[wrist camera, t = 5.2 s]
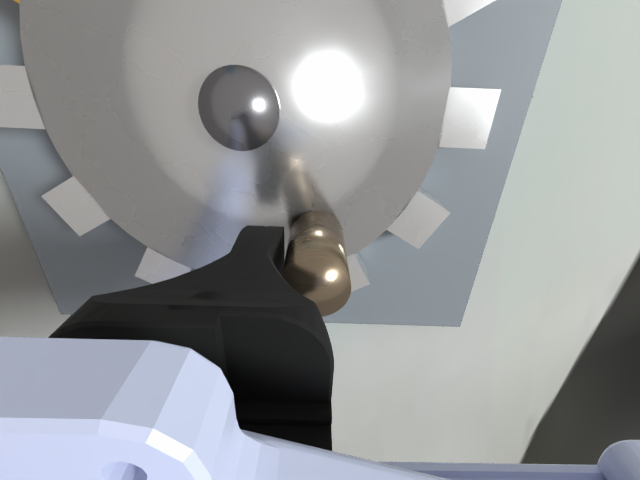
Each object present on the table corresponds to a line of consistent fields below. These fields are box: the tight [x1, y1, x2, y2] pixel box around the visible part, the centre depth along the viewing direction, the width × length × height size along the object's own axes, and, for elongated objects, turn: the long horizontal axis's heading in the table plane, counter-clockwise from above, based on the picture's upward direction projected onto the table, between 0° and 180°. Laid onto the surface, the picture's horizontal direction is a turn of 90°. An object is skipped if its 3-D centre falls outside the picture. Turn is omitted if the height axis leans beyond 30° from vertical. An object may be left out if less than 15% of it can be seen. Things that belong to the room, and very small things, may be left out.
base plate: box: [0, 0, 562, 327], centre depth 12 cm, size 20×20×1 cm
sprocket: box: [0, 0, 501, 317], centre depth 9 cm, size 16×16×5 cm
